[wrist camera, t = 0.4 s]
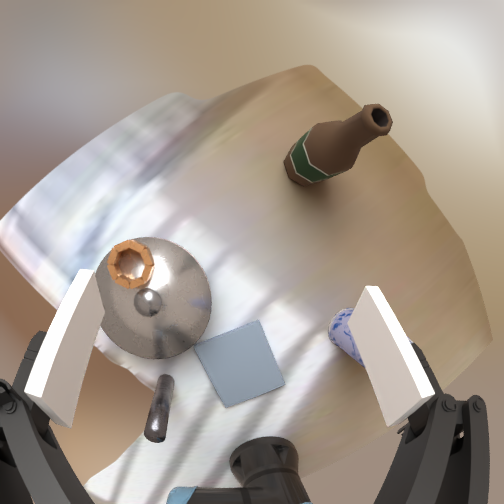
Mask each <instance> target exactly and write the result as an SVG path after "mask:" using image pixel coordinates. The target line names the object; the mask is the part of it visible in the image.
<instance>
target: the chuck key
mask: <svg viewBox="0 0 504 504" xmlns="http://www.w3.org/2000/svg"><path fill="white" fill-rule="evenodd" d="M173 387H174V379H173V378H172V377H171V376H170V375H167V374H163V375H161V376H160V377H159V379H158V382H157V386H156V389H155V393H154V397H153V400H152V404H151V408H150V411H149V415H148V419H147V423H146V427H145V430H144V436H145V437H146V438H147V439H148V440H149V441H151V442H155V443H160V442H163V441H164V440H165V438H166V431H167V424H168V418H169V411H170V405H171V399H172V393H173Z"/></svg>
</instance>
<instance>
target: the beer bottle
mask: <svg viewBox="0 0 504 504" xmlns="http://www.w3.org/2000/svg"><path fill="white" fill-rule="evenodd" d="M392 123H393V121H392V119H391V116H390V114H389V111H388V110H386V109H385V108H384V107H382V106H381V105H380V104H370V105H365V106H364V107H363V110H362V111H361V112H359V113H357V114H355V115H354V116H352V117H350V118H349V119H347V120H345V121H344V122H342V121H331V122H325V123H318V124H316V125H315V126H313V127H312V128H311V129H310V130H309V131H308V132H307V133H306V134H304V135H303V136H302V137H301V138H300V139H299V140H298V141H297V142H296V143H295V144H294V145H293V146H292V148H291V149H290V151H289V153H288V155H287V156H286V158H285V160H284V164H285V167H286V170H287V173H288V177H289V178H290V179H292V180H294V181H295V182H297V183H299V184H300V185H302V186H306V185H309V184H313V183H317V182H321V181H324V180H326V179H328V178H331V177H333V176H336V175H338V174H340V173H343V172H345V171H347V170H349V169H351V168H352V167H353V165H354V163H355V161H356V159H357V156H358V154H359V152H360V149H361V147H363V146H364V145H366V144H368V143H369V142H371V141H372V140H374V139H375V138H377V137H378V136H384V135H387V134H388V133H389V131H390V129H391V126H392Z"/></svg>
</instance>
